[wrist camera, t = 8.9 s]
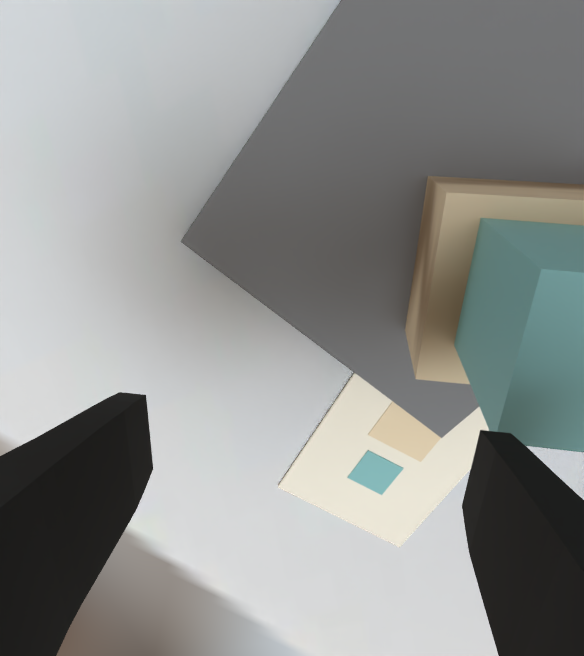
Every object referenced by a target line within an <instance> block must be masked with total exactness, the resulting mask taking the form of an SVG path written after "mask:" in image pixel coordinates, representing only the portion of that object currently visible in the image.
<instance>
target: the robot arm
mask: <svg viewBox="0 0 584 656" xmlns="http://www.w3.org/2000/svg"><path fill="white" fill-rule="evenodd" d="M152 470H153V463H152V453H151V442H150V432H149V422H148V412H147V402H146V395H140V394H130V393H121V392H120V393H117V394H115V395H113V396H111V397H109V398H107V399H105V400H103V401H101V402H100V403H98V404H96V405H94V406H92V407H90V408H89V409H87V410H85V411H83V412H82V413H80V414H78V415H76V416H74V417H73V418H71V419H69V420H67V421H66V422H64V423H62V424H60V425H58V426H57V427H55V428H53V429H51V430H49V431H48V432H46V433H44V434H42V435H40V436H39V437H37V438H35V439H33V440H31V441H29V442H27V443H25V444H23V445H21V446H19V447H17V448H15V449H13V450H11V451H9V452H8V453H6V454H4V455H2V456H0V656H56V655H57V652H58V650H59V648H60V646H61V644H62V642H63V640H64V637H65V635H66V633H67V631H68V629H69V627H70V625H71V623H72V621H73V619H74V617H75V616H76V614H77V612H78V610H79V608H80V606H81V604H82V603H83V601H84V599H85V597H86V596H87V594H88V592H89V591H90V589H91V587H92V585H93V584H94V582H95V580H96V579H97V577H98V575H99V573H100V572H101V570H102V568H103V567H104V565H105V563H106V561H107V560H108V558H109V556H110V554H111V553H112V551H113V549H114V548H115V546H116V544H117V543H118V541H119V539H120V537H121V536H122V534H123V532H124V530H125V529H126V527H127V525H128V523H129V522H130V520H131V518H132V516H133V514H134V513H135V511H136V509H137V507H138V504H139V502H140V500H141V497H142V495H143V493H144V490H145V488H146V485H147V483H148V480H149V478H150V475H151V473H152ZM462 509H463V516H464V523H465V530H466V536H467V542H468V548H469V553H470V557H471V561H472V564H473V568H474V571H475V575H476V578H477V582H478V586H479V589H480V593H481V596H482V599H483V603H484V606H485V610H486V613H487V617H488V620H489V624H490V627H491V631H492V634H493V637H494V641H495V644H496V648H497V651H498V655H499V656H584V500H583V499H582V498H581V497H579V496H578V495H577V494H576V493H575V492H574V491H573V490H572V489H571V488H570V487H569V486H567V485H566V484H565V483H564V482H563V481H562V480H561V479H560V478H559V477H558V476H557V475H556V474H555V473H554V472H552V471H551V470H550V469H549V468H548V467H547V466H546V465H545V464H544V463H543V462H542V461H541V460H540V459H539V458H538V457H537V456H536V455H534V454H533V453H532V452H531V451H530V450H529V449H528V448H527V447H526V446H525V445H524V444H523V443H522V442H520V441H519V440H518V439H517V438H516V437H515V436H514V435H512V434H511V433H505V432H495V431H486V430H480V433H479V437H478V441H477V446H476V450H475V454H474V458H473V462H472V466H471V471H470V475H469V479H468V483H467V487H466V491H465V496H464V500H463V504H462Z"/></svg>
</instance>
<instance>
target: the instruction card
mask: <svg viewBox="0 0 584 656" xmlns="http://www.w3.org/2000/svg"><path fill="white" fill-rule="evenodd" d="M480 430H486V431H489V428H488V426H487V423H486V421H485V419H484V416H483V414H482V411H481V409H480V407H478V408H477V409H476V410H474V411H473V412H472V413H471V414H470V415H469V416H467V417H466V418H465V419H464V420H463V421H461V422H460V423H459V424H458V425H457V426H455V427H454V428H453V429H452V430H451V431H450V432H448V433H447V434H446V435H445V436H444V437H442V438H441V437H439V436H438V435H437V434H435V433H434V432H433V431H431V430H430V429H429V428H427V427H426V426H425V425H423V424H422V423H421V422H419V421H418V420H417V419H415V418H414V417H413V416H411V415H410V414H409V413H407V412H406V411H405V410H404V409H402V408H401V407H400V406H398V405H397V404H396V403H394V402H393V401H392V400H390V399H389V398H388V397H386V396H385V395H384V394H382V393H381V392H380V391H378V390H377V389H376V388H374V387H373V386H372V385H370V384H369V383H368V382H366V381H365V380H364V379H362V378H361V377H360V376H358V375H357V374H356V373H354V374H353V375H352V377H351V378H350V380H349V381H348V383H347V384H346V386H345V387H344V389H343V390H342V392H341V393H340V394H339V396H338V397H337V399H336V400H335V402H334V403H333V405H332V406H331V408H330V409H329V411H328V412H327V414H326V415H325V417H324V418H323V420H322V421H321V423H320V424H319V426H318V427H317V429H316V430H315V432H314V433H313V434H312V436H311V437H310V439H309V440H308V442H307V443H306V445H305V446H304V448H303V449H302V451H301V452H300V454H299V455H298V457H297V458H296V460H295V461H294V463H293V464H292V466H291V467H290V469H289V470H288V472H287V473H286V475H285V476H284V477H283V479H282V480H281V482H280V483H279V485H278V488H280V489H282V490H284V491H286V492H288V493H290V494H292V495H294V496H296V497H299V498H301V499H303V500H305V501H307V502H309V503H311V504H313V505H315V506H317V507H319V508H321V509H323V510H325V511H327V512H329V513H331V514H333V515H335V516H337V517H339V518H341V519H343V520H345V521H347V522H349V523H351V524H353V525H355V526H357V527H359V528H361V529H363V530H365V531H367V532H369V533H371V534H373V535H376V536H378V537H380V538H382V539H384V540H386V541H388V542H390V543H392V544H394V545H396V546H398V547H400V546H401V545H402V544H403V543H404V542H405V541H406V540H407V539H408V538H409V536H410V535H411V534H412V533H413V532H414V531H415V530H416V529H417V528H418V527H419V525H420V524H421V523H422V522H423V521H424V520H425V519H426V518H427V517H428V515H429V514H430V513H431V512H432V511H433V510H434V509H435V508H436V507H437V506H438V504H439V503H440V502H441V501H442V500H443V499H444V498H445V497H446V496H447V494H448V493H449V492H450V491H451V490H452V489H453V488H454V487H455V486H456V485H457V483H458V482H459V481H460V480H461V479H462V478H463V477H464V476H465V475H466V473H467V472H468V471H469V470H470V469H471V466H472V462H473V458H474V454H475V450H476V446H477V441H478V437H479V433H480Z"/></svg>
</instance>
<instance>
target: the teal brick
mask: <svg viewBox="0 0 584 656" xmlns="http://www.w3.org/2000/svg"><path fill="white" fill-rule="evenodd" d="M454 346H455V349H456V351H457V353H458V356H459V358H460V361H461V363H462V365H463V368H464V370H465V373H466V375H467V378H468V380H469V382H470V385H471V387H472V390H473V392H474V394H475V397H476V399H477V402H478V404H479V407H480V409H481V411H482V414H483V416H484V419H485V421H486V423H487V426H488V428H489V431H495V432H505V433H511V434H512V435H514V436H515V437H516V438H517V439H518V440H519V441H520V442H522V443H523V444H524V445H525V446H533V447H542V448H550V449H559V450H568V451H576V452H584V226H583V225H570V224H557V223H544V222H530V221H517V220H504V219H491V218H481V219H480V224H479V228H478V233H477V238H476V243H475V247H474V252H473V257H472V262H471V266H470V271H469V276H468V280H467V285H466V290H465V295H464V299H463V304H462V309H461V314H460V318H459V323H458V328H457V333H456V337H455V342H454Z"/></svg>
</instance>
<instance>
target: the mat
mask: <svg viewBox="0 0 584 656" xmlns="http://www.w3.org/2000/svg"><path fill="white" fill-rule="evenodd" d="M428 176H438V177H456V178H474V179H492V180H510V181H528V182H546V183H564V184H583V185H584V0H341V2H340V3H339V5H338V6H337V8H336V9H335V11H334V12H333V14H332V15H331V17H330V18H329V20H328V21H327V23H326V24H325V26H324V27H323V29H322V30H321V32H320V33H319V35H318V36H317V38H316V39H315V41H314V42H313V44H312V45H311V47H310V48H309V50H308V51H307V53H306V54H305V56H304V57H303V59H302V60H301V62H300V63H299V65H298V66H297V68H296V69H295V71H294V72H293V74H292V75H291V77H290V78H289V80H288V81H287V83H286V84H285V86H284V87H283V89H282V90H281V92H280V93H279V95H278V96H277V98H276V99H275V101H274V102H273V104H272V105H271V107H270V108H269V110H268V111H267V113H266V114H265V116H264V117H263V119H262V120H261V122H260V123H259V125H258V126H257V128H256V129H255V131H254V132H253V134H252V135H251V137H250V138H249V140H248V141H247V143H246V144H245V146H244V147H243V149H242V150H241V152H240V153H239V155H238V156H237V158H236V159H235V161H234V162H233V164H232V165H231V167H230V168H229V170H228V171H227V173H226V174H225V176H224V177H223V179H222V180H221V182H220V183H219V185H218V186H217V188H216V189H215V191H214V192H213V194H212V195H211V197H210V198H209V200H208V201H207V203H206V204H205V206H204V207H203V209H202V210H201V212H200V213H199V215H198V216H197V218H196V219H195V221H194V222H193V224H192V225H191V227H190V228H189V230H188V231H187V233H186V234H185V236H184V237H183V239H182V240H181V242H182V243H183V244H185V245H186V246H187V247H189V248H190V249H191V250H193V251H194V252H195V253H196V254H198V255H199V256H200V257H202V258H203V259H204V260H206V261H207V262H208V263H210V264H211V265H212V266H214V267H215V268H216V269H218V270H219V271H220V272H222V273H223V274H224V275H226V276H227V277H228V278H230V279H231V280H232V281H234V282H235V283H236V284H238V285H239V286H240V287H242V288H243V289H244V290H246V291H247V292H248V293H250V294H251V295H252V296H254V297H255V298H256V299H258V300H259V301H260V302H262V303H263V304H264V305H265V306H267V307H268V308H269V309H271V310H272V311H273V312H275V313H276V314H277V315H279V316H280V317H281V318H283V319H284V320H285V321H287V322H288V323H289V324H291V325H292V326H293V327H295V328H296V329H297V330H299V331H300V332H301V333H303V334H304V335H305V336H307V337H308V338H309V339H311V340H312V341H313V342H315V343H316V344H317V345H319V346H320V347H321V348H323V349H324V350H325V351H327V352H328V353H329V354H331V355H332V356H333V357H335V358H336V359H337V360H338V361H340V362H341V363H342V364H344V365H345V366H346V367H348V368H349V369H350V370H352V371H353V372H354V373H356V374H357V375H358V376H360V377H361V378H362V379H364V380H365V381H366V382H368V383H369V384H370V385H372V386H373V387H374V388H376V389H377V390H378V391H380V392H381V393H382V394H384V395H385V396H386V397H388V398H389V399H390V400H392V401H393V402H394V403H396V404H397V405H398V406H400V407H401V408H402V409H404V410H405V411H406V412H407V413H409V414H410V415H411V416H413V417H414V418H415V419H417V420H418V421H419V422H421V423H422V424H423V425H425V426H426V427H427V428H429V429H430V430H431V431H433V432H434V433H435V434H437V435H438V436H439V437H441V438H442V437H444V436H445V435H446V434H447V433H448V432H450V431H451V430H452V429H453V428H454V427H455V426H457V425H458V424H459V423H460V422H461V421H463V420H464V419H465V418H466V417H467V416H469V415H470V414H471V413H472V412H473V411H474V410H476V409H477V408H478V407H479V404H478V402H477V399H476V397H475V394H474V392H473V390H472V387H471V385H470V384H460V383H449V382H439V381H428V380H418V379H415V374H414V369H413V365H412V360H411V356H410V351H409V346H408V342H407V337H406V332H405V327H406V320H407V314H408V307H409V300H410V293H411V287H412V280H413V273H414V266H415V260H416V253H417V246H418V239H419V233H420V226H421V219H422V213H423V206H424V199H425V192H426V186H427V179H428Z"/></svg>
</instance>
